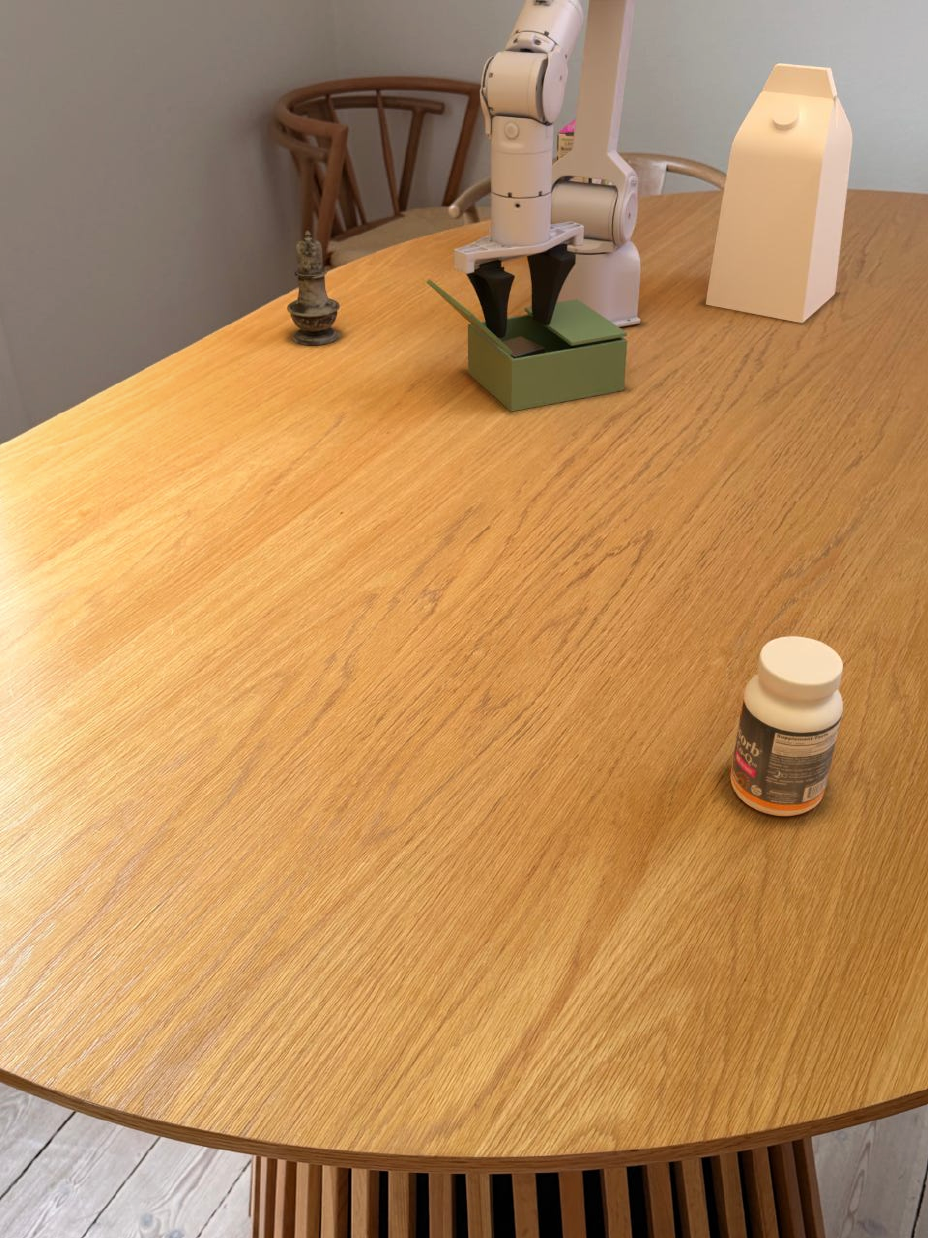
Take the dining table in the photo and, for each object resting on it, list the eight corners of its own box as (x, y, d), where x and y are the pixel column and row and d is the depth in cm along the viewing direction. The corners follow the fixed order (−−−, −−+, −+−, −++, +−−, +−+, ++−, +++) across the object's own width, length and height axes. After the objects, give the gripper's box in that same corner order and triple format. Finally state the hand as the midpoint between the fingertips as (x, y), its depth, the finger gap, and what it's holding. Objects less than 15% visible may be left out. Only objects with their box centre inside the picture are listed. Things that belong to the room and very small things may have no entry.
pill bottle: (718, 761, 77) (737, 632, 71) (807, 755, 77) (832, 627, 72) (743, 824, 72) (765, 691, 67) (837, 818, 73) (867, 685, 67)
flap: (512, 352, 117) (510, 355, 117) (468, 316, 125) (466, 319, 125) (471, 313, 113) (469, 316, 113) (429, 278, 121) (426, 281, 121)
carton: (511, 411, 121) (512, 352, 117) (467, 372, 129) (467, 316, 125) (624, 390, 125) (628, 332, 121) (574, 353, 133) (577, 298, 129)
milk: (834, 293, 148) (873, 62, 133) (802, 323, 140) (839, 80, 125) (741, 277, 153) (769, 53, 139) (705, 304, 145) (730, 69, 131)
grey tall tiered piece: (345, 328, 140) (339, 222, 133) (336, 347, 135) (329, 238, 128) (295, 326, 140) (286, 221, 134) (284, 345, 135) (274, 237, 129)
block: (520, 372, 128) (520, 335, 126) (544, 384, 125) (545, 347, 123) (489, 381, 126) (490, 344, 124) (513, 393, 123) (514, 356, 121)
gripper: (553, 169, 121) (549, 301, 128) (434, 194, 114) (437, 332, 122) (600, 184, 116) (593, 320, 124) (478, 211, 109) (479, 354, 117)
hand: (519, 328), depth 122 cm, fingers open, 5 cm apart
